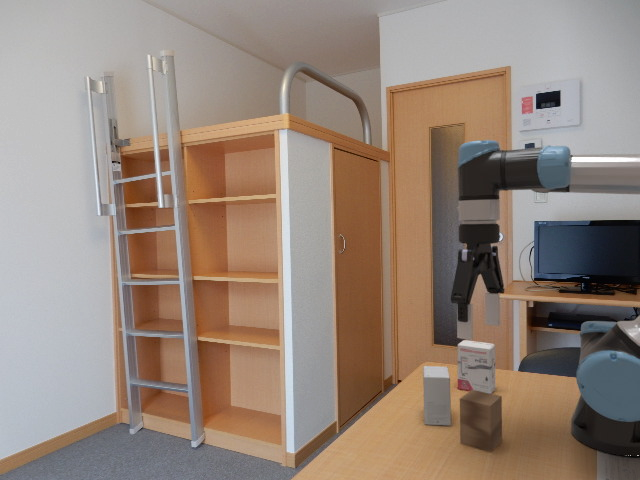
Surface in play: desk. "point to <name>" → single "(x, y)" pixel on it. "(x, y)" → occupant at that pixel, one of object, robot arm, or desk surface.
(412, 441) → the desk surface
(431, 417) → the small box
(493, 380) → the ink box
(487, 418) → the walnut block
